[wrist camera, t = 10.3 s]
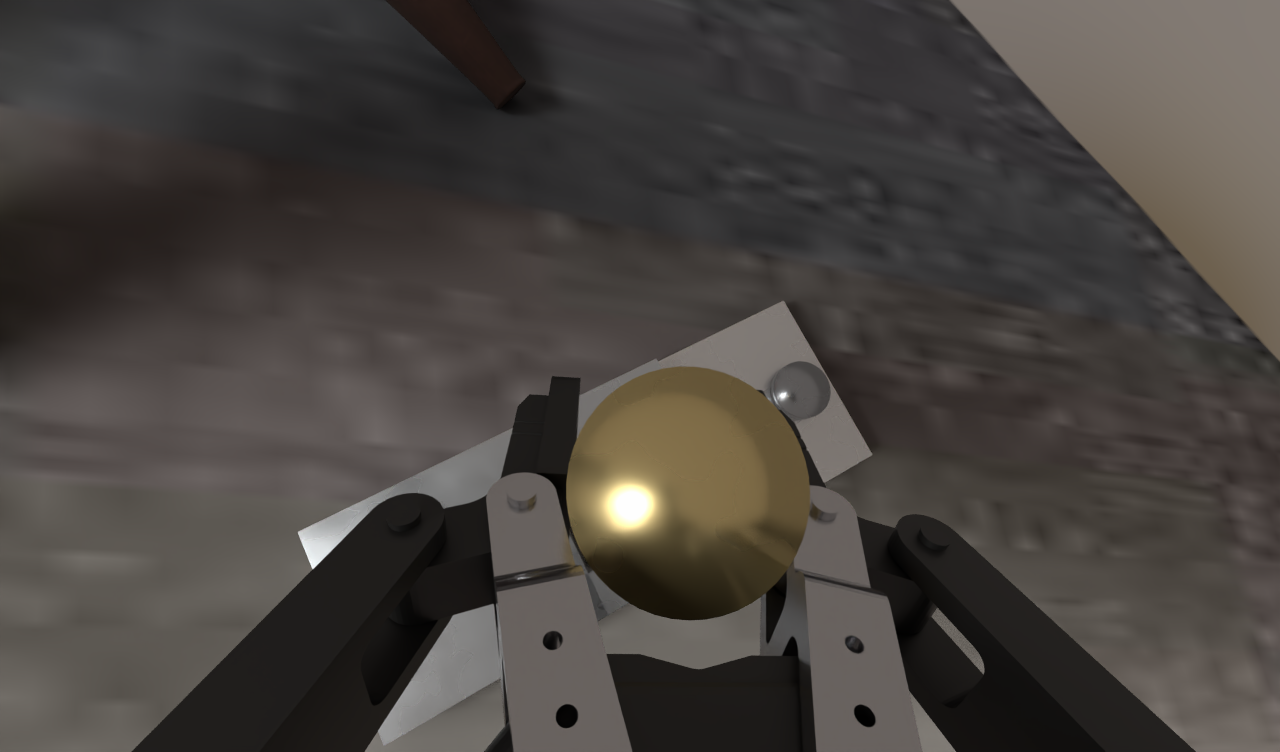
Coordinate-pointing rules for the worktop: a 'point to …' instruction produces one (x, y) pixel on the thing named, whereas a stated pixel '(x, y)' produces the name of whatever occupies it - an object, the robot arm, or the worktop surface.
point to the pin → (688, 493)
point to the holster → (464, 44)
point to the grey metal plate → (468, 645)
